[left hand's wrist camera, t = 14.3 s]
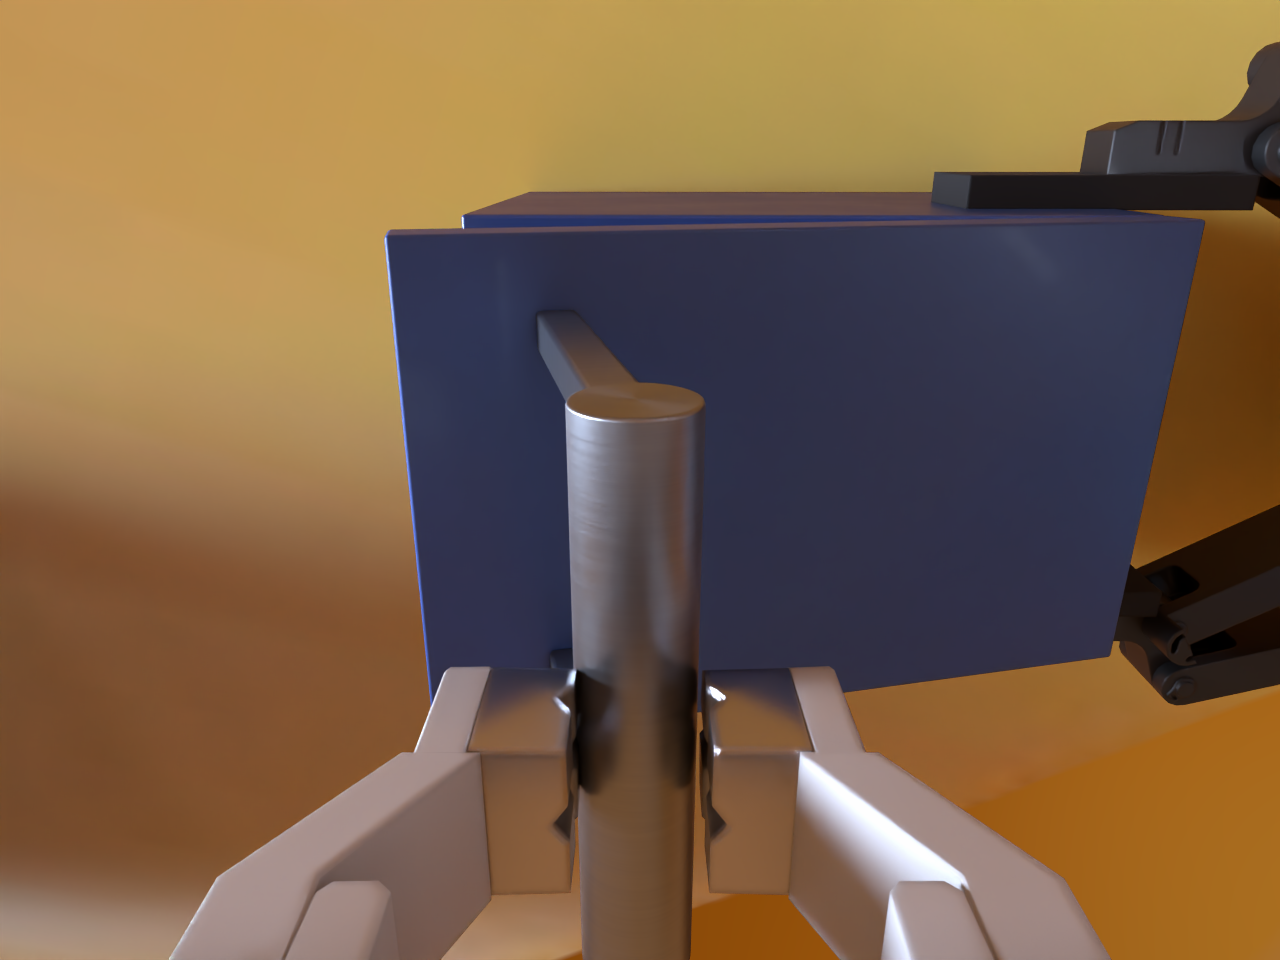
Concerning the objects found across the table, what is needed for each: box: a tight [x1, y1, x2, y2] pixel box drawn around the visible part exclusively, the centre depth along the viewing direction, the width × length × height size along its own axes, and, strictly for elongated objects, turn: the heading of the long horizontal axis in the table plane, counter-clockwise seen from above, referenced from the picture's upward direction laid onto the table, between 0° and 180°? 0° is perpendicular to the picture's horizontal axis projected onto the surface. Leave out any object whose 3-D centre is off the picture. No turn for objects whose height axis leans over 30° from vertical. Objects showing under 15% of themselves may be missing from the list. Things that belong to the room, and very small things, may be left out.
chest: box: [462, 192, 1164, 228], centre depth 25 cm, size 15×10×10 cm
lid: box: [384, 216, 1205, 960], centre depth 14 cm, size 15×10×8 cm, turn 90°
